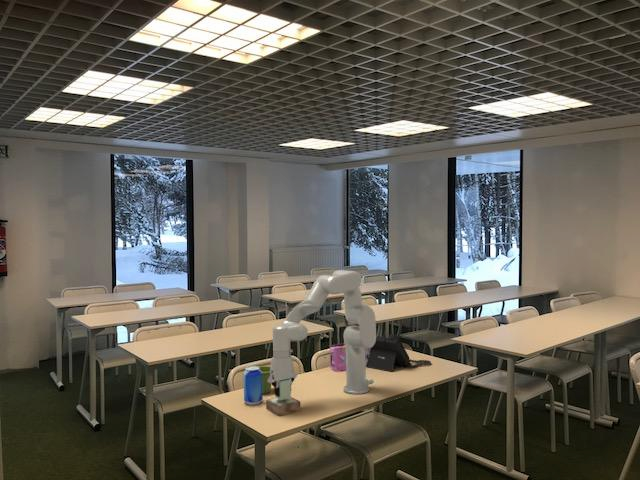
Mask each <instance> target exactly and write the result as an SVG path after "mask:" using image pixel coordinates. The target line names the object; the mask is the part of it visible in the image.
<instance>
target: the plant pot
mask: <svg viewBox="0 0 640 480" xmlns="http://www.w3.org/2000/svg"><path fill="white" fill-rule="evenodd" d="M258 367H260V370H261V372H262V395H264V394H268V393H269V392H271V389H272V384H270V383H269V382H267V380H268V378H269V377H270V366H269V365H261V366H258Z"/></svg>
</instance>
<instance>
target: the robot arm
mask: <svg viewBox="0 0 640 480" xmlns="http://www.w3.org/2000/svg"><path fill="white" fill-rule="evenodd" d="M362 282H363V278H362V275H361V274H360V273H359V272H358V271H355V270H346V269H345V270H344V269H338V270H335V271H333V272H332V275H327V274H326V275H325V274H322V275H319V276H318V277H317V278H316V280H315V281H314V283H313V284H312V286H311V287H310V289H309V291H308V293H307V294H306V296H305V298H304V299H303V300H302V301H301V302H300V303H299V304H297V305H296V306H294V307H293V308H292V309H291V310H290V311H289V313H288V314H287V315H286V317H285V319H284V320H283V322H282V324H280V325H279V324H278V325H274V326H273V328H272V346H273V347H272V351H273V352H272V354H273V356H272V357H271V360H270V377H269V378H268V380H267V382H269V383H270V384H271V386H273V388H274V389H273V391H274V395H275V396H277V397H280V388H279V381H281V380H286V379H290V383H291V386H292V385H293V383H294V381H295V380H296V378H297V377H298V374H297V372H296V371H295V367H294V361H293V356H292V355H291V354H292V353H293V351H294V350H293V349H291V342H301V341H303V340H305V339H306V338H307V337H308V334H309V330H308V327H307V326H305V325H304V324H302V323H300V322H301V321H302V320H304V319H305V318H306V317H307V316H309V315H312V314H315V313H317V312H319V311H320V310H321V309H322V306H324V303H325V301H326V300H327V298H328V296H329V295H341V294H342V295H343V300H344V313H345V315H344V316H345V319H346V321H347V322H348V323H351V325H349V326H347V327H346V328H345V329H344V331H343V342H344V343H345V348H346V373H345V374H346V375H345V376H346V377H345V378H346V385H345V386H344V387H343V391H344V392H345V393H347V394H353V395H360V394H365V393H368V392H369V391H370V386H369V385H372V384H374V383H375V382H374V379H370V380H369V379H367V372H366V371H367V370H366V369H367V367H366V357H365V350H364V348H366V349H368V348H371V347H373V346H374V344H375V342H376V336H377V324H376V314H375V311H374V310H373V308H372V307H370V306H368V305H364V304H363V299H362V297H363V296H362V290H361V288H360V287H361V285H362ZM352 324H353V325H352ZM354 324H355V325H354ZM275 396H274V397H275Z"/></svg>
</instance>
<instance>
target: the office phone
mask: <svg viewBox="0 0 640 480" xmlns="http://www.w3.org/2000/svg"><path fill="white" fill-rule="evenodd" d="M412 363H415V364H412ZM431 364H432V362H431V360H428V359H421V360H420V359H419V360H417V359H415V360H414V359H410V356H409V354H408V353H407V350H406V348H405V347H404V345H403V343H402V341H401V340H400V338H399V336H398V335H396V334H394V333H391V334H389V335H388V337H386V336H379V335H376V342H375V344H374V346H373V347H371V348H370V356H369V359H368V361H367V365H366V366H367V367H366V368H372V369H377V370H382V371H387V372H392V373H393V370H394V366H395V365H399V366H404V367H407V368H412V369H413V368H417V367H422V366H429V365H431Z"/></svg>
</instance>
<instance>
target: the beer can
mask: <svg viewBox="0 0 640 480" xmlns="http://www.w3.org/2000/svg"><path fill="white" fill-rule="evenodd" d="M243 400H244V402H245V404H246V405H248V406H256V405H259V404H261V403H262V401H263V400H264V399H263V394H262V372H261V370H260V367H258V366H256V365H254V366H253V365H252V366H251V365H250V366H247V367H245V369H244V372H243Z"/></svg>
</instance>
